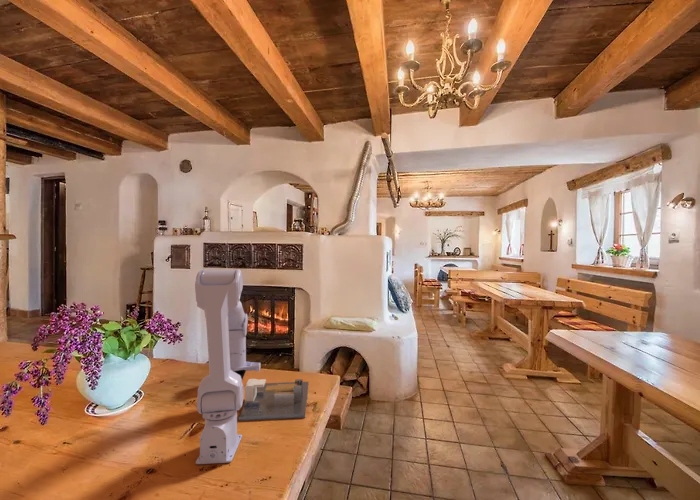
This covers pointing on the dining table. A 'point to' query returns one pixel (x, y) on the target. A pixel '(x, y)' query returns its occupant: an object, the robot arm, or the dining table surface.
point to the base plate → (274, 409)
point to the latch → (253, 388)
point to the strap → (281, 387)
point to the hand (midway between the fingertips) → (236, 393)
